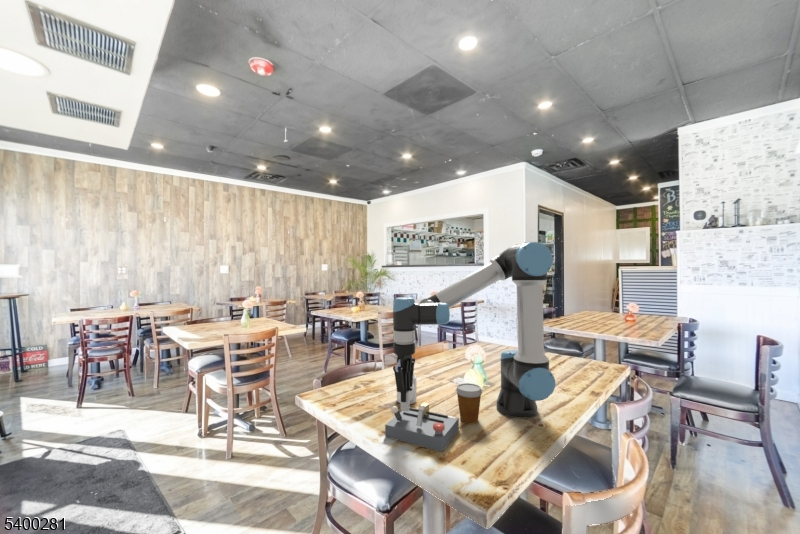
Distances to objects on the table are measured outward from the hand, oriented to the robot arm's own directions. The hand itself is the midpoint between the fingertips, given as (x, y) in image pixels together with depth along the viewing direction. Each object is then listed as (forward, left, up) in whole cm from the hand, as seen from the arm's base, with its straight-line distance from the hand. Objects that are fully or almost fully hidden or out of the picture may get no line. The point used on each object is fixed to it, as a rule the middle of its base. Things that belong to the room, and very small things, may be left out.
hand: (405, 410), depth 116 cm
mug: (+9, -21, -7) cm, 24 cm away
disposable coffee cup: (-18, -17, -7) cm, 25 cm away
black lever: (0, +3, -3) cm, 4 cm away
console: (-7, 0, -7) cm, 9 cm away
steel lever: (-8, +5, -3) cm, 10 cm away
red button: (-15, +5, -3) cm, 16 cm away
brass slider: (-5, -5, -3) cm, 8 cm away
